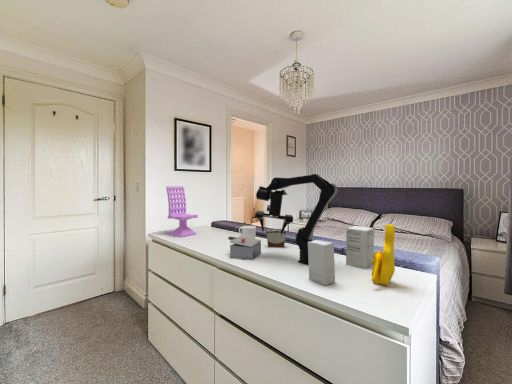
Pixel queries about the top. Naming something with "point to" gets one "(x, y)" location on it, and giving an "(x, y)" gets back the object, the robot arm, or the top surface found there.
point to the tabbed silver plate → (244, 241)
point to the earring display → (182, 217)
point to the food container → (276, 238)
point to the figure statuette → (384, 259)
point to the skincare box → (321, 261)
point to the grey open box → (245, 251)
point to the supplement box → (359, 246)
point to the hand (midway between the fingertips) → (272, 233)
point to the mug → (248, 231)
